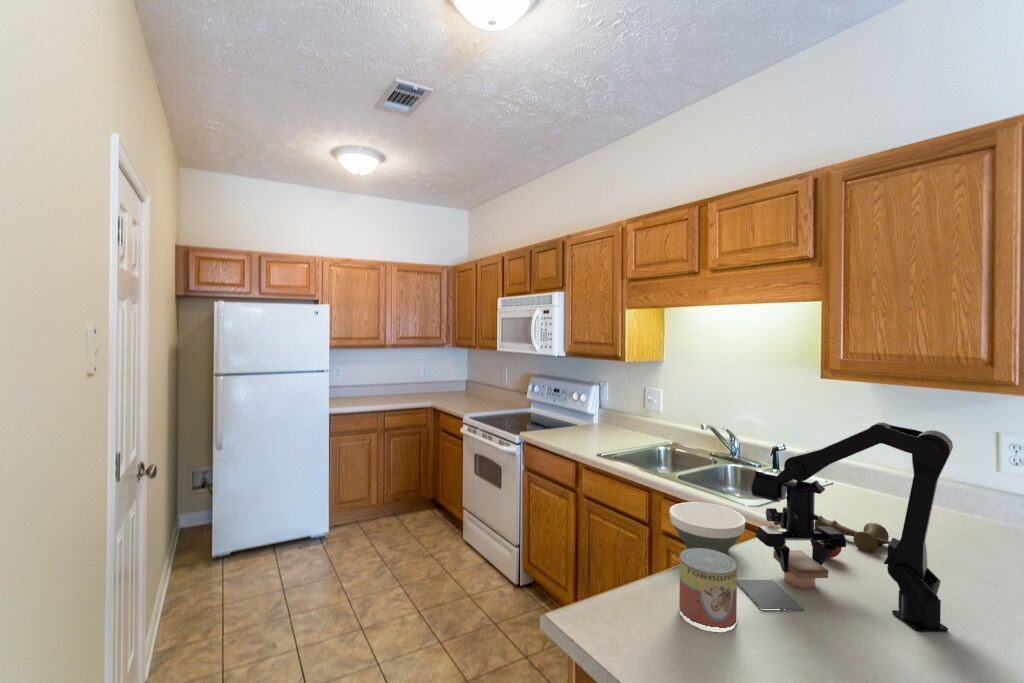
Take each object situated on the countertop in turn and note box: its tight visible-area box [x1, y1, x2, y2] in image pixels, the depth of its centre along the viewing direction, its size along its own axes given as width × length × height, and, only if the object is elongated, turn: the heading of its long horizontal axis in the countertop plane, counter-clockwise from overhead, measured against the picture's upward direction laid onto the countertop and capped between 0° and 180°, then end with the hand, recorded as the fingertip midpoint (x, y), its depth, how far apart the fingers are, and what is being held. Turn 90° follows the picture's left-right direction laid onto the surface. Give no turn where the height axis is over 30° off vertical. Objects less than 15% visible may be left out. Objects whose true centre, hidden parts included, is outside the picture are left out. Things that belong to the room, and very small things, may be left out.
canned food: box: [678, 548, 738, 628], centre depth 100 cm, size 11×11×12 cm
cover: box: [773, 549, 829, 579], centre depth 114 cm, size 10×7×2 cm
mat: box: [737, 579, 804, 611], centre depth 108 cm, size 12×9×1 cm
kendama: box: [814, 515, 891, 554], centre depth 136 cm, size 6×10×20 cm
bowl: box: [669, 501, 746, 555], centre depth 132 cm, size 20×20×10 cm
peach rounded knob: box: [783, 569, 816, 590], centre depth 114 cm, size 6×6×4 cm
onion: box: [826, 547, 843, 560], centre depth 126 cm, size 6×6×8 cm
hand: (799, 571), depth 114 cm, fingers closed on cover, 7 cm apart
